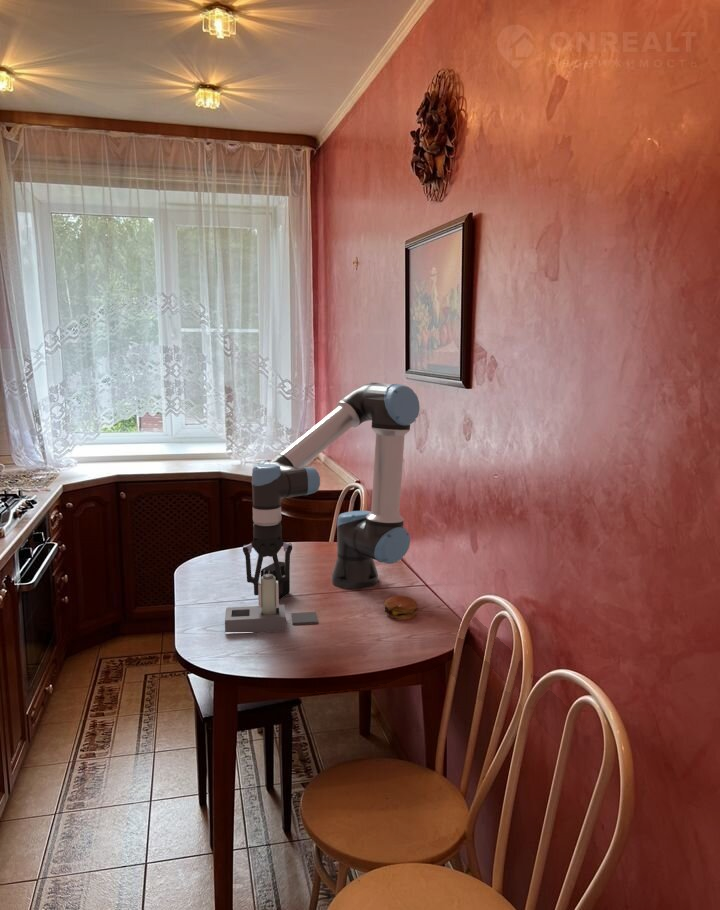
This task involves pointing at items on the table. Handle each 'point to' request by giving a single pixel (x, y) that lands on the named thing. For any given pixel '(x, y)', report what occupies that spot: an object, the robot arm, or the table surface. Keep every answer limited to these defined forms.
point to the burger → (401, 607)
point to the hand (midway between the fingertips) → (268, 605)
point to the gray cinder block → (254, 620)
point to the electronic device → (271, 570)
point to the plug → (268, 594)
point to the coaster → (304, 618)
